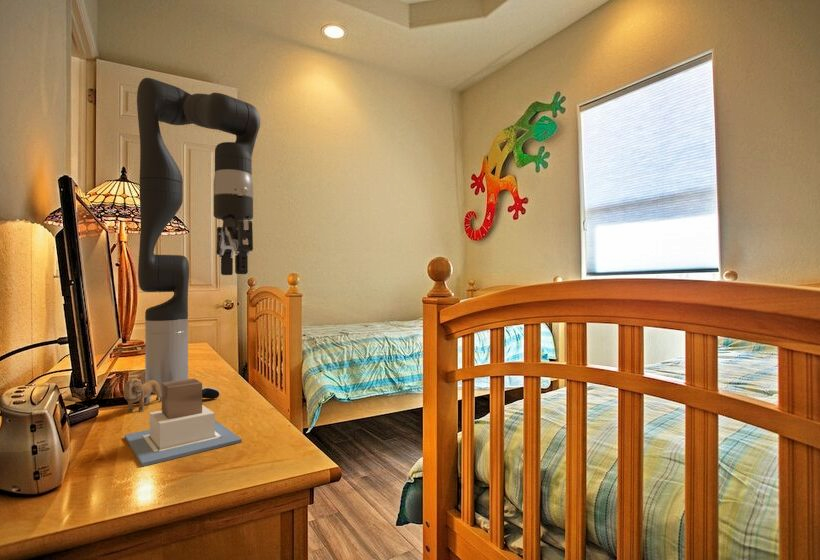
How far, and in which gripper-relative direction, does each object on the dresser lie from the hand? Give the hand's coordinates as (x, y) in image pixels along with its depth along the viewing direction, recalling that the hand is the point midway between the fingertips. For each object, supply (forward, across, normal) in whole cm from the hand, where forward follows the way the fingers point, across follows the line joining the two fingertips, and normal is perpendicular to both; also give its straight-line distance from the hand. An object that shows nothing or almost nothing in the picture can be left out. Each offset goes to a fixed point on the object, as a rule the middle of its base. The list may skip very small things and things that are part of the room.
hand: (233, 274), depth 87 cm
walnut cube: (+24, +10, -12) cm, 28 cm away
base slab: (+28, +10, -12) cm, 32 cm away
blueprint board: (+28, +10, -12) cm, 32 cm away
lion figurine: (+28, -16, -13) cm, 35 cm away
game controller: (+29, -10, -3) cm, 30 cm away
